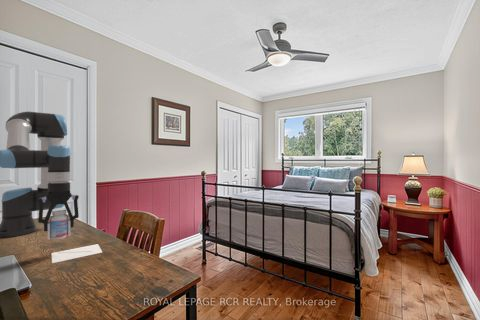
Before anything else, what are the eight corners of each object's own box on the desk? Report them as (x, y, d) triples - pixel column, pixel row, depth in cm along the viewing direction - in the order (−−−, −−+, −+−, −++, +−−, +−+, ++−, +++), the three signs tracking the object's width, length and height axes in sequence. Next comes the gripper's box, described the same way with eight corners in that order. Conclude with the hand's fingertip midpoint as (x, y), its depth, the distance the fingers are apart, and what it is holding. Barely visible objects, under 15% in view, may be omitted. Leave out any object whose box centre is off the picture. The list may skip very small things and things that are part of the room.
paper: (51, 253, 100) (51, 252, 100) (97, 244, 111) (97, 243, 111) (52, 263, 90) (52, 263, 90) (102, 252, 101) (102, 252, 101)
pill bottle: (58, 240, 96) (58, 212, 96) (46, 239, 97) (46, 211, 97) (71, 235, 102) (71, 209, 102) (60, 234, 103) (60, 208, 103)
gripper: (28, 184, 90) (28, 244, 91) (87, 181, 103) (87, 234, 103) (29, 182, 96) (29, 239, 96) (84, 180, 108) (84, 230, 108)
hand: (59, 236), depth 99 cm, fingers closed on pill bottle, 6 cm apart
